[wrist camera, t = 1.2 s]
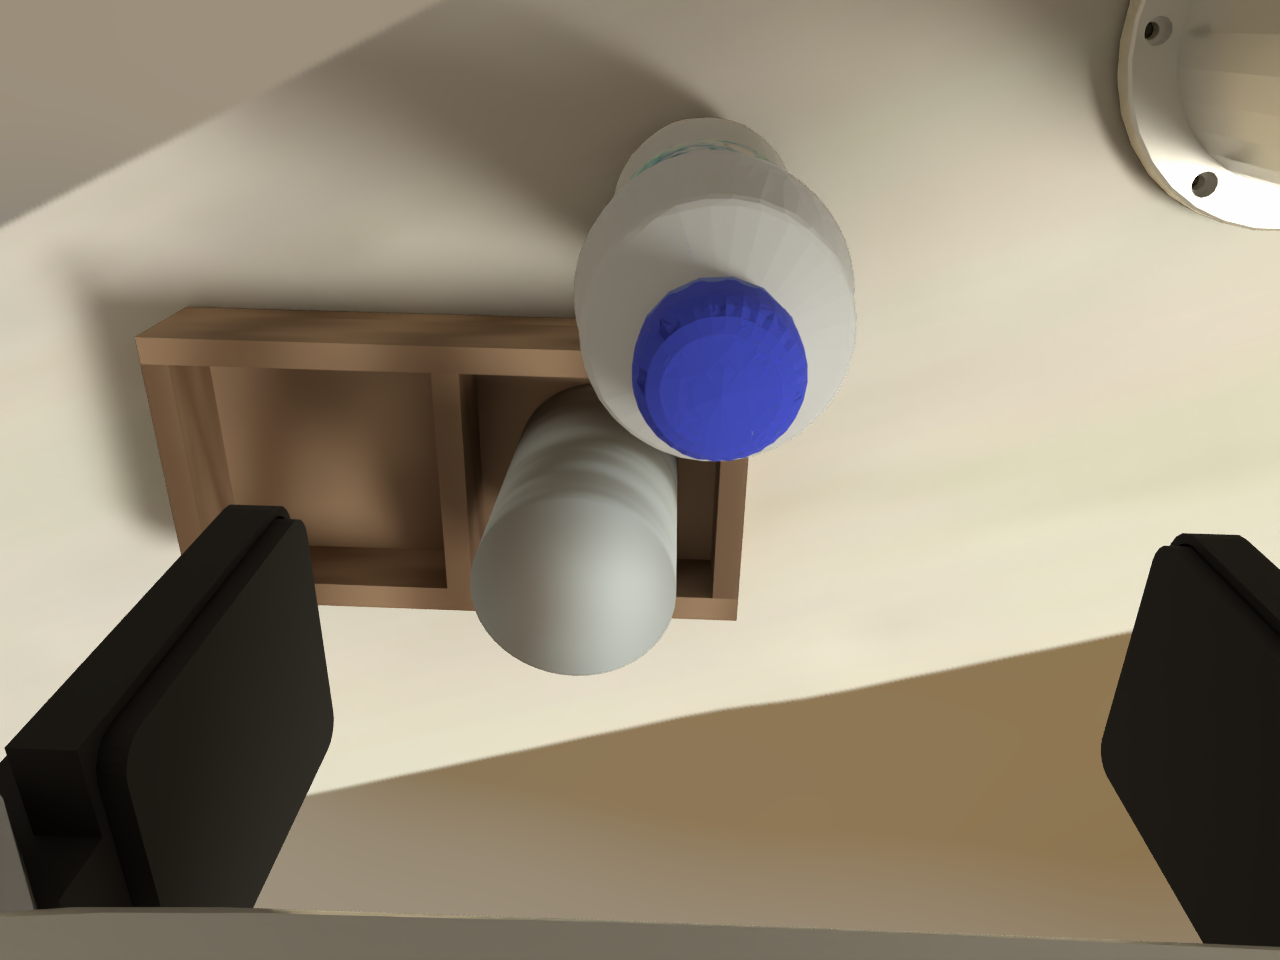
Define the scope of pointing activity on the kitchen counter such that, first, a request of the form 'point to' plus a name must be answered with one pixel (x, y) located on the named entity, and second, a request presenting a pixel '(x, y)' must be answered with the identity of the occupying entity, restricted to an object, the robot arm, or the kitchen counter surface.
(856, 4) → the kitchen counter surface
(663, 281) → the bottle
